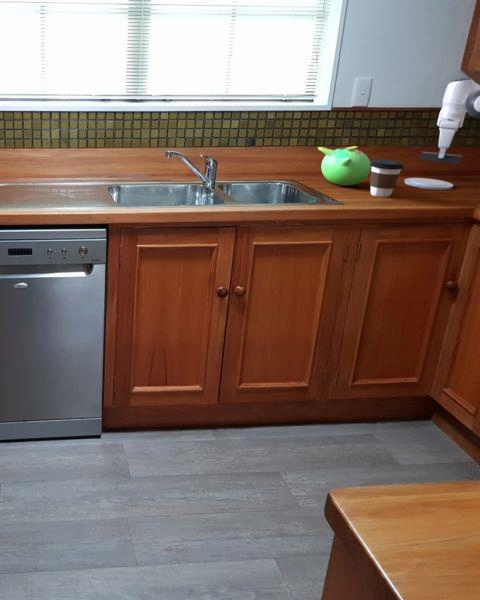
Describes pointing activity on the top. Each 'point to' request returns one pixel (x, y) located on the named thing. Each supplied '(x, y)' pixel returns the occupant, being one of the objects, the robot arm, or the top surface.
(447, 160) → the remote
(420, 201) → the top surface
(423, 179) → the plate
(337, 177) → the toy bird
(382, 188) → the coffee cup
